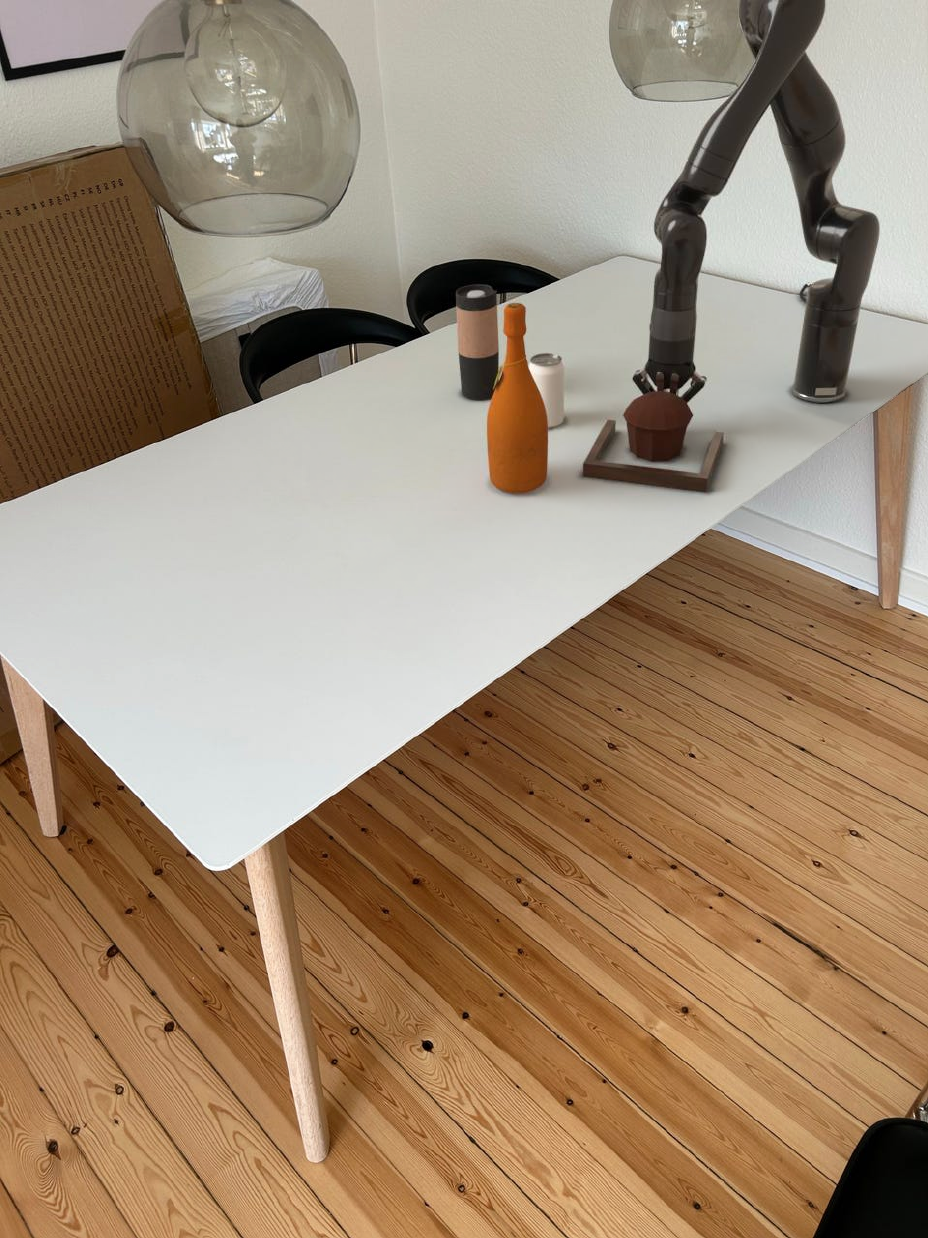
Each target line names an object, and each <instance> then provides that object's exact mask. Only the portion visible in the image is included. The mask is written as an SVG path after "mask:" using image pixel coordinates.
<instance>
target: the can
mask: <svg viewBox="0 0 928 1238" xmlns="http://www.w3.org/2000/svg"><path fill="white" fill-rule="evenodd" d="M529 361H530V362H529V363H528V367H529V370H530V372H531V374H532V377H533V379H534V381H535V383H536V385H537V387H538V389H539V391H540V394H541V396H542V399H543V401H544V405H545V408H546V412H547V419H548V429H554V428H557V427H558V426H560V425H561V424H562V423H563V422H564V420H565V419H564V417H565V367H564V366H565V365H564V363H563V358H562V356H561V355H559V354H556V353H551V352H543V353H537V354H534V355H532V356H531V357H530V359H529Z"/></svg>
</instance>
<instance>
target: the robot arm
mask: <svg viewBox="0 0 928 1238" xmlns="http://www.w3.org/2000/svg"><path fill="white" fill-rule="evenodd" d="M826 7H827V0H739V2H738V20H739V26H740V29H741V31H742V34H743V36H744V39H745V41H746V42H747V45H748V48H749V50H750V52H751V54H752V57H753V58H754V62H753V64H752V66H751V68H750V69H749V71H748V73H747V74H746V75H745V78H744V79H743V80H742V81H741V82H740V84H739V85H738V86H737V88H735V90H734V91H733V92H732V93H731V94H730V95H729V96H728V97H727V98H726V99H725V100H724V101H723V102H722V103H721V104H720V105H719V106H718V107H717V108H716V109H715V110H714V112H713V113H712V114H711V115H710V116H709V118H708V119H707V120H706V122H705V124H704V125H703V126H702V128H701V130H700V132H699V134H698V135H697V137H696V139H695V142H694V144H693V146H692V149H691V150H690V152H689V155H688V157H687V160H686V162H685V164H684V166H683V169H682V172H681V173H680V174H679V175H678V177H677V179H675V181H674V182H673V184H672V186H671V187H670V189H669V190H668V192H667V193H666V195H665V196H664V198H663V200H662V201H661V203H660V205H659V207H658V209H657V212H656V214H655V217H654V221H653V232H654V235H655V237H656V239H657V241H658V242H659V243H660V245H661V260H660V268H659V269H658V270H657V271H656V273H655V276H654V283H653V297H652V307H651V308H652V309H651V313H650V321H649V326H648V327H649V341H648V357H647V361H646V363H645V365H644V367H643V368H642V369H637V370H636V371H635V372H634V374H633V376H632V382H633V383H634V384H635V386H636V387H637V388H638V390H639V392H640V393H641V394H642V395H644V394H646V393H648V392H653V391H666V392H671V393H673V394H675V395H677V396H679V393H680V390H681V389H682V388H683V387H684V386H685V385H686V384H687V383H688V382H689V380H690V379H691V381H690V384H689V385H690V387H689V388H688V389H686V391H685V392H684V393H683V394H682V395H680V397H681V398H683V399H684V400H685V401H686V403H687V404H688V403H689V402H690V401H691V400H692V399H693V398H694V397H695V396H696V395H697V394H698V393H699V392H701V390H702V389H703V388H704V387H705V385H706V383H707V381H708V378H707V377H706V376H705V375H700V374H699V373H698V372H697V371H696V370H697V369H696V368H697V367H696V365H695V361H694V356H695V346H696V345H695V344H696V331H697V319H698V315H697V314H698V313H697V301H698V290H699V276H700V273H701V270H702V266H703V262H704V258H705V253H706V249H707V241H708V231H707V229H708V228H707V225H706V221H705V220H704V218H703V217H702V215H703V213H704V211H705V209H706V207H707V206H708V205H709V203H710V201H711V200H712V198H713V197H714V198H715V197H717V196H719V195H720V194H721V193H722V192H723V191H724V189H725V188H726V187H727V184H728V182H729V179H730V178H731V176H732V174H733V172H734V170H735V168H736V166H737V164H738V162H739V160H740V158H741V156H742V153H743V151H744V149H745V148H746V146H747V143H748V141H749V139H750V138H751V136H752V134H753V132H754V131H755V129H756V127H757V125H758V124H759V122H760V121H761V119H762V118H763V116H764V114H765V113H766V112H767V110H768V108H769V107H770V109H771V110H770V111H771V113H772V115H773V119H774V123H775V126H776V129H777V134H778V138H779V141H780V145H781V148H782V151H783V155H784V158H785V161H786V162H787V167H788V169H789V172H790V176H791V181H792V183H793V187H794V190H795V195H796V199H797V203H798V209H799V215H800V222H801V228H802V235H803V239H804V244H805V246H806V249H807V251H808V253H809V254H810V255H811V256H812V257H814V258H815V259H817V260H819V261H822V262H826V263H828V264H829V263H830V264H832V265H836V267H835V271H834V275H833V277H827V278H823V279H818V280H816V281H814V282H812V283H811V284H810V285H809V286H808V285H807V284H806V283H805V284H804V285H803V287H802V288H801V289H800V292H799V298H800V299H801V300H802V301H803V302H804V303H805V309H804V313H803V314H804V315H803V322H802V328H801V334H800V342H799V347H798V348H799V349H798V355H797V362H796V369H795V375H794V379H793V380H794V381H793V383H792V384H793V385H792V393H793V395H794V396H795V397H796V398H798V399H801V400H803V401H807V402H812V403H821V404H823V403H825V404H826V403H834V402H838V401H840V400H842V399H843V398H844V397H845V395H846V390H847V389H846V388H847V382H848V376H849V371H850V366H851V361H852V355H853V351H854V345H855V339H856V333H857V329H858V322H859V318H860V317H859V316H860V312H861V311H860V310H861V306H862V300H863V297H864V294H865V292H866V290H867V287H868V286H869V282H870V278H871V274H872V269H873V264H874V260H875V256H876V252H877V249H878V245H879V239H880V229H881V227H880V220H879V218H878V216H877V215H876V214H875V213H874V212H872V211H868V210H864V209H861V208H856V207H852V206H847V205H843V204H841V202H840V201H839V200H838V198H837V195H836V192H835V189H834V183H833V177H834V175H835V173H836V171H837V169H838V167H839V165H840V163H841V161H842V158H843V156H844V152H845V150H846V149H845V148H846V133H845V127H844V123H843V120H842V116H841V115H842V114H841V112H840V111H841V110H840V109H839V105H838V102H837V100H836V99H837V98H836V97H835V95H834V94H833V92H832V90H831V88H830V86H829V85H828V84H827V82H826V80H825V78H824V77H823V75H822V74H821V73H820V71H819V69H817V66H816V65H815V64H814V62H813V60H812V59H811V57H810V56H809V54H808V52H807V49H808V48H809V46H810V45H811V43H812V42H813V40H814V38H815V37H816V35H817V33H818V31H819V28H820V27H821V25H822V22H823V20H824V16H825V13H826ZM807 288H808V290H807V296H806V297H805V296H804V292H805V291H806V289H807ZM649 379H650V380H651V381H652V383H651V382H650V381H649ZM652 384H653V385H654V386H655V387H656V390H655V388H654V387H653V385H652Z"/></svg>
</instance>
